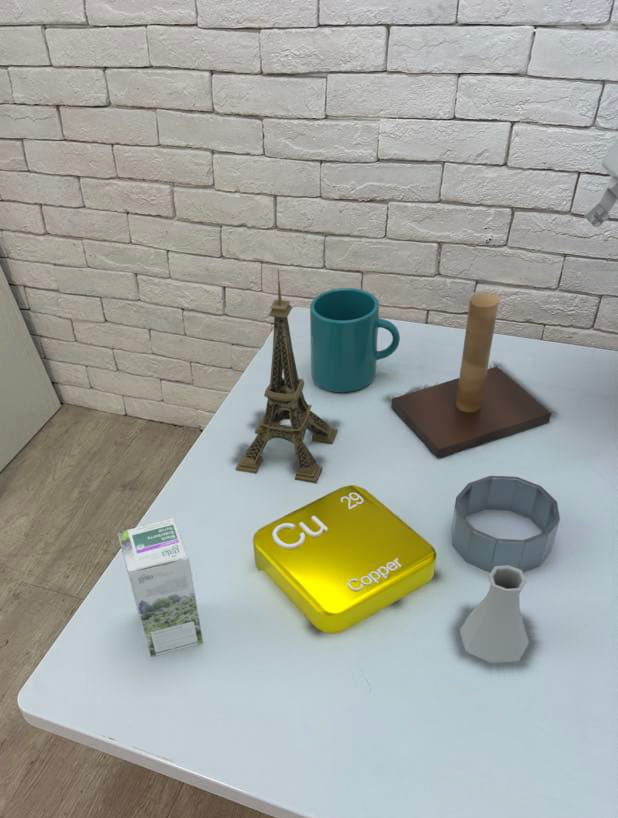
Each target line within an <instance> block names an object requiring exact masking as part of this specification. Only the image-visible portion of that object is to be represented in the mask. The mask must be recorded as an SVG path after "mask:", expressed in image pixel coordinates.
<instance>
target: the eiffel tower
mask: <svg viewBox="0 0 618 818" xmlns="http://www.w3.org/2000/svg"><path fill="white" fill-rule="evenodd" d="M277 280H278V281H277V299H273V302H272V304H271V305H270V307H269V309H270V312H269V314H268V317H273V318H274V319H273V339H272V353H271V354H272V355H271V365H270V366H271V367H270V379H269V384H268V386H267V388H266V389H265V391H264V394H263V396H264V397H265V398H267V401H266V407H265V413H264V415H263V417H262V418H260V420H259V422H258V424H257V426H256V428H255V430H254V434H257V435H256V436H255V438H254V440H253V441H252V442H251V444H250V445H249V446H248V448H247V449H246V451H245V453H244V454H242V455H241V457H240V459H239V461H238V462H237V464H236V466H235V471H239V472H245V473H250V474H251V473H252V474H257V473H258V472H259V469H260V467H261V465H262V463H263V460H264V458H263V455H262V453H263V451H264V449H265V447H267V446H266V445H267V444H268V442H269V441H271V440H273V439H281V440H284V441H287V442H289V443H291V444H292V445H293V446H294V452H295V459H296V466H297V469H296V471H295V475H294V480H295V481H301V482H306V483H307V482H308V483H313V484H317V482H318V480H319V478H320V475H321V472H322V470H323V466H319V463H317V460H316V458H315V457H314V456H313V454H312V453H311V451H310V450H309V449H308V446H307V445H306V443H305V442H304V439H305V436H306V432H307V430H308V431H309V432H310V433H311V434H312V435H311V442H314V443H315V442H316V443H323V444H330V445H333V443H334V442H335V439H336V436H337V433H338V429H337V428H332V427H331V425H329V424H328V423H327V422H326V421H325V420H324V419H322V418H321V417H320V416H318V415H317V414H316V413H315V412H313V411H312V410H311V409H312V404H308V402H307V401H306V399H305V395H304V393H303V390H304V387H305V382H304V378H299V374H298V369H297V365H296V358H295V354H294V348H293V343H292V335H291V330H290V325H289V318H288V316H289V315H290V313H291V311H292V309H293V308H294V307H293V306H292V305H291V304H290V303H291V301H290V300H285V299H284V300H283V299H282V290H281V281H280V269H279V268H278V269H277ZM284 420H287V421H288V420H289V422H290V425H288V424H282V421H284Z"/></svg>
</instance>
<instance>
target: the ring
mask: <svg viewBox="0 0 618 818" xmlns="http://www.w3.org/2000/svg"><path fill="white" fill-rule="evenodd" d="M558 505H559V504H558V501H557V500H556V499H555V498H554V497H553V496H552V495H551V494H550V493H549V492H548V491H547V490H546V489H545V488H544V487H543V486H541V485H540V484H537V483H534V482H531V481H529V480H526V479H524V478H521V477H519V476H505V475H489V476H485V477H482V478H480V479H477V480H474V481H471V482H468V483H467V484H466V485H465V486H464V488H463V489H462V490H461V491H460V492H459V493H458V494H457V496H456V497H455V502H454V509H453V514H452V515H453V516H452V521H451V529H450V530H451V545H452V547H453V548H454V550H455V551H456V552H457V553H458V555H460V557H461V558H462V559H463V561H464V562H465V563H468V564H469V565H472V566H474V567H476V568H478V569H480V570H482V571H485V572H487V573H488V574H490V573H491V571H492V570H493V568H494V567H495V566H505V565H509V566H512V567H515V568H517V569H520V570H522V571H523V573H525V572H528V571H531V570H533V569H537V568H539V567H541V566H542V564H543V563H544V562H545V560H546V559H547V558H548V556H549V555H550V553H551V552H552V549H553V547H554V546H553V545H554V543H555V539H556V535H557V531H558V528H559V524H560V520H561V518H560V510H559V506H558ZM486 510H489V511H490V510H491V511H509V512H511V513H514V514H517V515H519V516H521V517H525V518H526V519H529V520H530V521H531V522H532V523H533V524H534V525H535V526H536V527H537V528H538V529H539V530H540V531H541V532H542V533H540V534H537V535H533V536H531V537H528V538H525V539H512V538H511V539H509V538H496V537H495V536H492V535H490V534H487V533H485V532H484V531H483V532H482V531H480V530H478V529H475V527H474V526H473V525H472V524H471V523H470V522H469V521H468V520H467V519H466V518H467V517H468V516H471V515H474V514H476V513H480V512H483V511H486Z"/></svg>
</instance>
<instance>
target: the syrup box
mask: <svg viewBox="0 0 618 818" xmlns="http://www.w3.org/2000/svg"><path fill="white" fill-rule="evenodd" d="M117 536H118V541H119V545H120V549H121V553H122V556H123V560H124V564H125V567H126V572H127V575H128V580H129V583H130V587H131V588H130V589H131V590H132V595H133V598H134V602H135V603H134V604H135V606H136V607H135V608H136V611H137V615H138V618H139V622H140V625H141V630H142V633H143V637H144V640H145V644H146V648H147V650H148V654H149V656H150V657H157V656H160V655H164V654H167V653H171V652H175V651H179V650H184V649H186V648H189V647H194V646H197V645H200V644H203V643H204V638H203V632H202V626H201V621H200V616H199V609H198V604H197V598H196V591H195V586H194V580H193V573H192V568H191V562H190V558H189V555H188V553H187V550H186V546H185V545H184V541H183V539H182V535H181V533H180V530H179V527H178V525H177V521H176V518H174V517H172V518H168V519H165V520H161V521H156V522H153V523H149V524H145V525H141V526H138V527H137V526H136V527H133V528H130V529H126V530H122V531H117Z"/></svg>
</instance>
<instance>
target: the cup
mask: <svg viewBox="0 0 618 818" xmlns="http://www.w3.org/2000/svg"><path fill="white" fill-rule="evenodd" d="M379 315H380V303H379V299H378V298H377V297H376V296H375V295H374V294H373V293H371V292H369V291H368V290H367V291H366V290H363V289H360V288H353V287H340V288H333V289H330V290H326V291H324V292H321V293H320V294H318V295H317V296H315V297H314V298H313V299H312V301H311V302H310V305H309V320H310V321H309V323H310V327H309V329H310V373H311V378H312V380H313V382H314V383H315V384H316V385H318V386H319V387H320V388H322V389H324V390H326V391H329V392H335V393H349V392H350V393H351V392H355V391H358V390H361V389H364V388H365V387H366V386H368V385H369V384H370V383H372V382H373V380H374V379H375V376H376V374H377V361H378V360H383V359H386V358H388V357H390V356H391V355H392V354H393V353H394V352H396V350H397V349H398V347H399V345H400V340H401V336H400V331H399V329H398V327H397V326H396V325H395V324H394V323H393V322H392V321H389V320H387V319H385V318H381V317H380V316H379ZM379 328H381V329H385V330H387V331H388V332H389V333H390V334H391V336H392V341H391V343H390V344H389V345H388V346H387V347H386V348H384V349H381V350H378V334H379Z"/></svg>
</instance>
